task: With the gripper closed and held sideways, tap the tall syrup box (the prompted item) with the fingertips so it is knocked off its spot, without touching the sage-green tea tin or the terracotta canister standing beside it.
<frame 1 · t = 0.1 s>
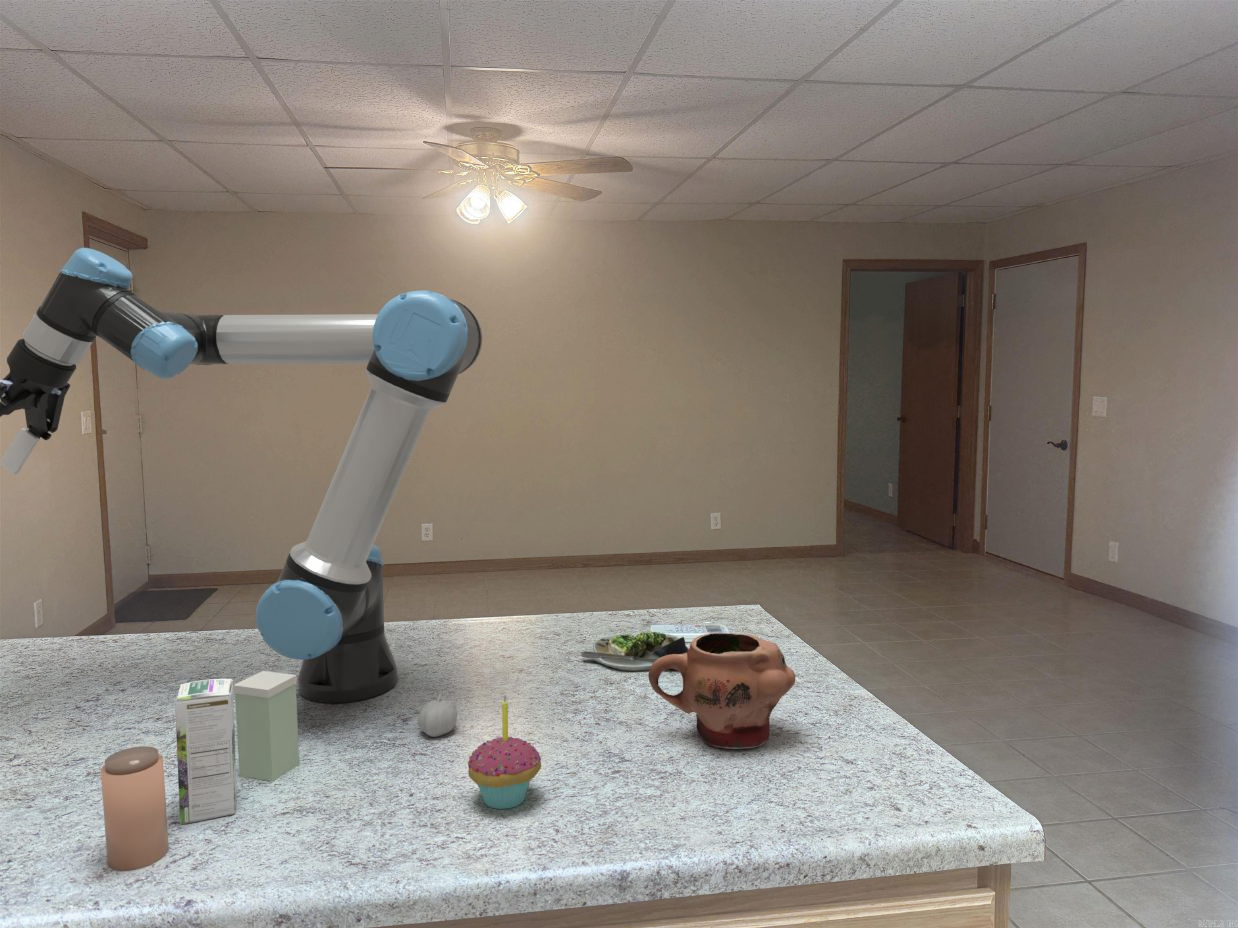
brown clay mug: (721, 739, 116), on the countertop
canister: (138, 854, 88), on the countertop
syrup box: (210, 809, 98), on the countertop
cupcake: (505, 800, 99), on the countertop
tea tin: (269, 769, 107), on the countertop
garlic: (438, 733, 118), on the countertop
salad plate: (644, 659, 149), on the countertop
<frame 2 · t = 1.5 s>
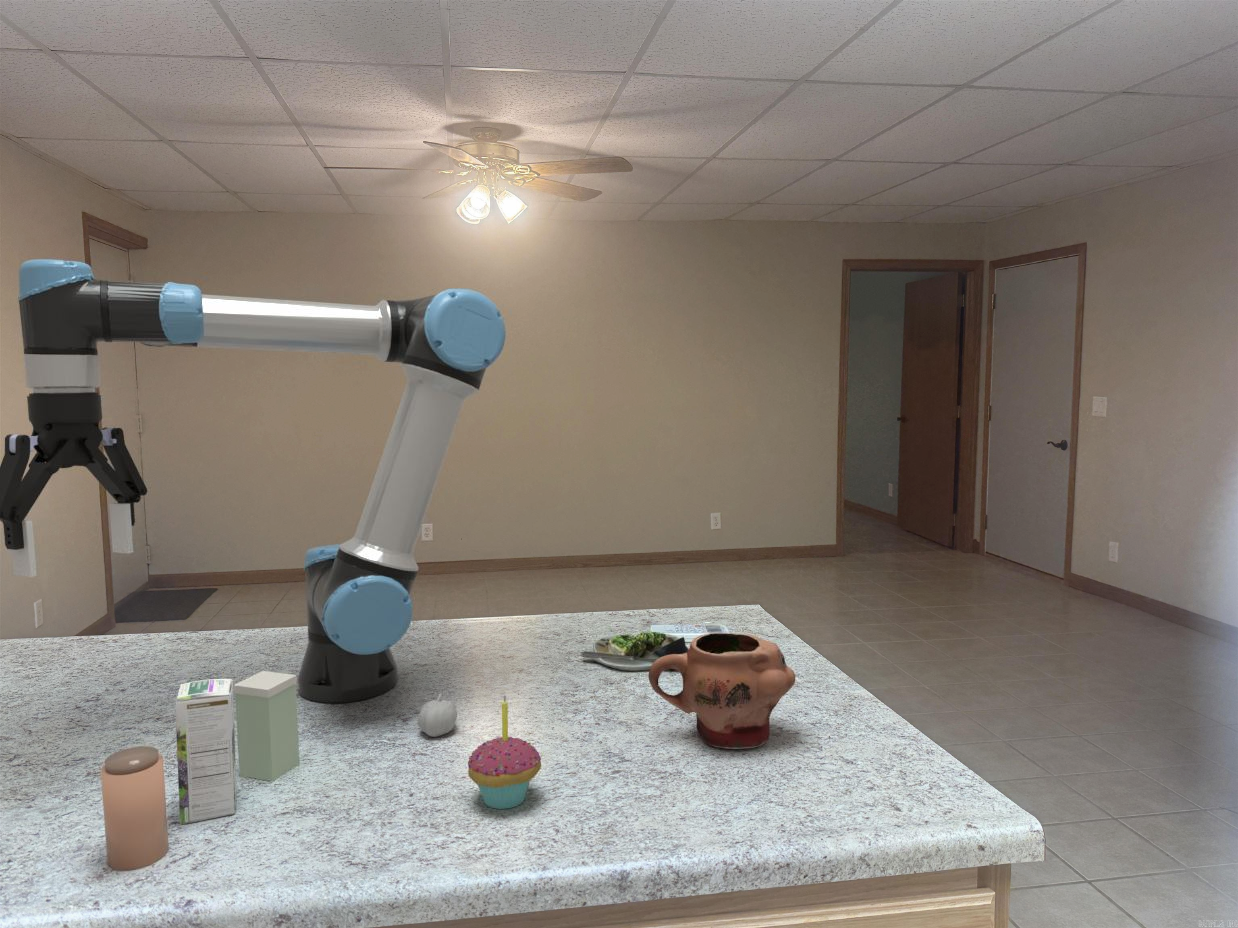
hand: (76, 563, 105), 27 cm above the countertop, tool pointing down, fingers open, 12 cm apart
nothing on the countertop moved.
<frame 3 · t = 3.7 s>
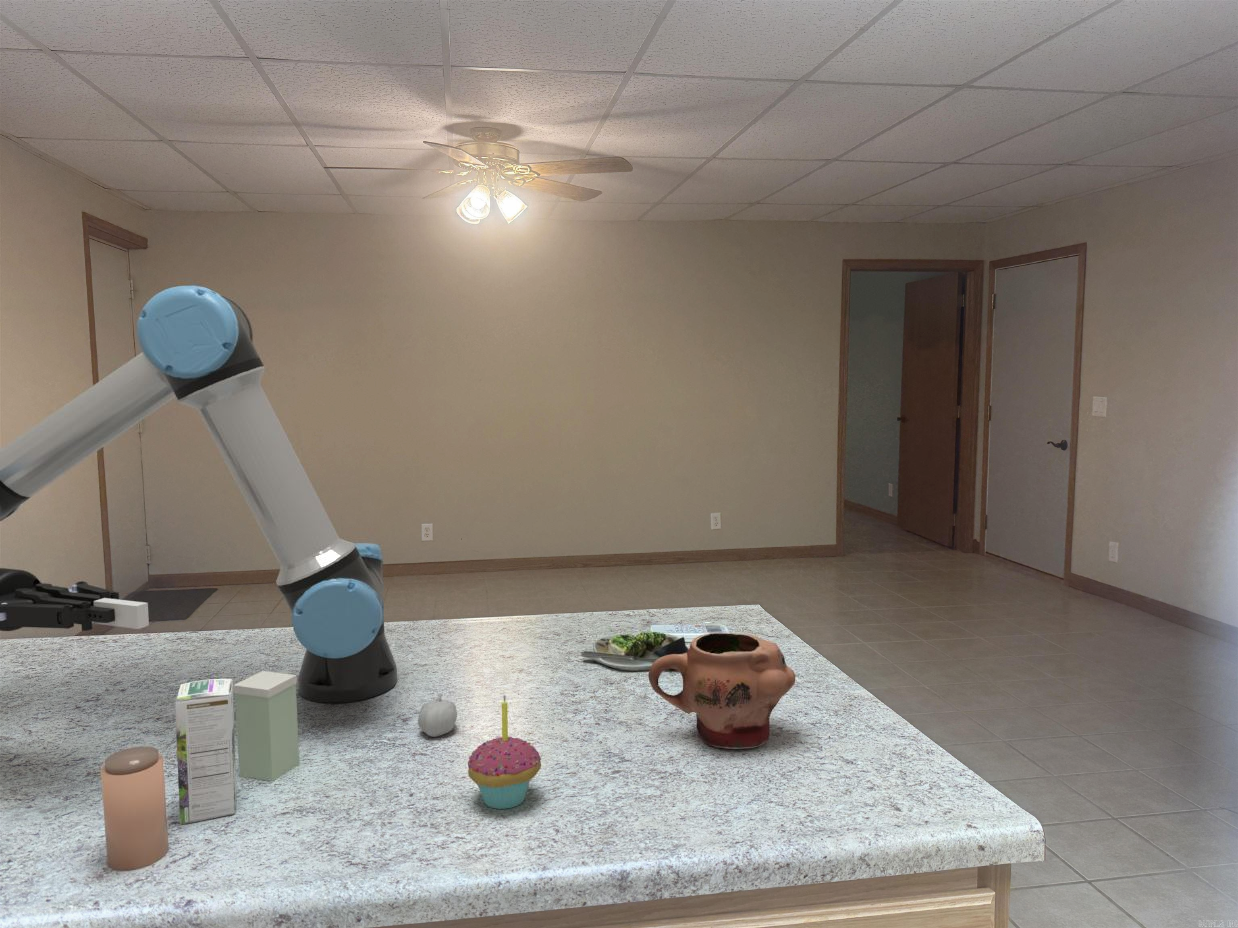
hand: (142, 615, 98), 22 cm above the countertop, tool horizontal, fingers closed
nothing on the countertop moved.
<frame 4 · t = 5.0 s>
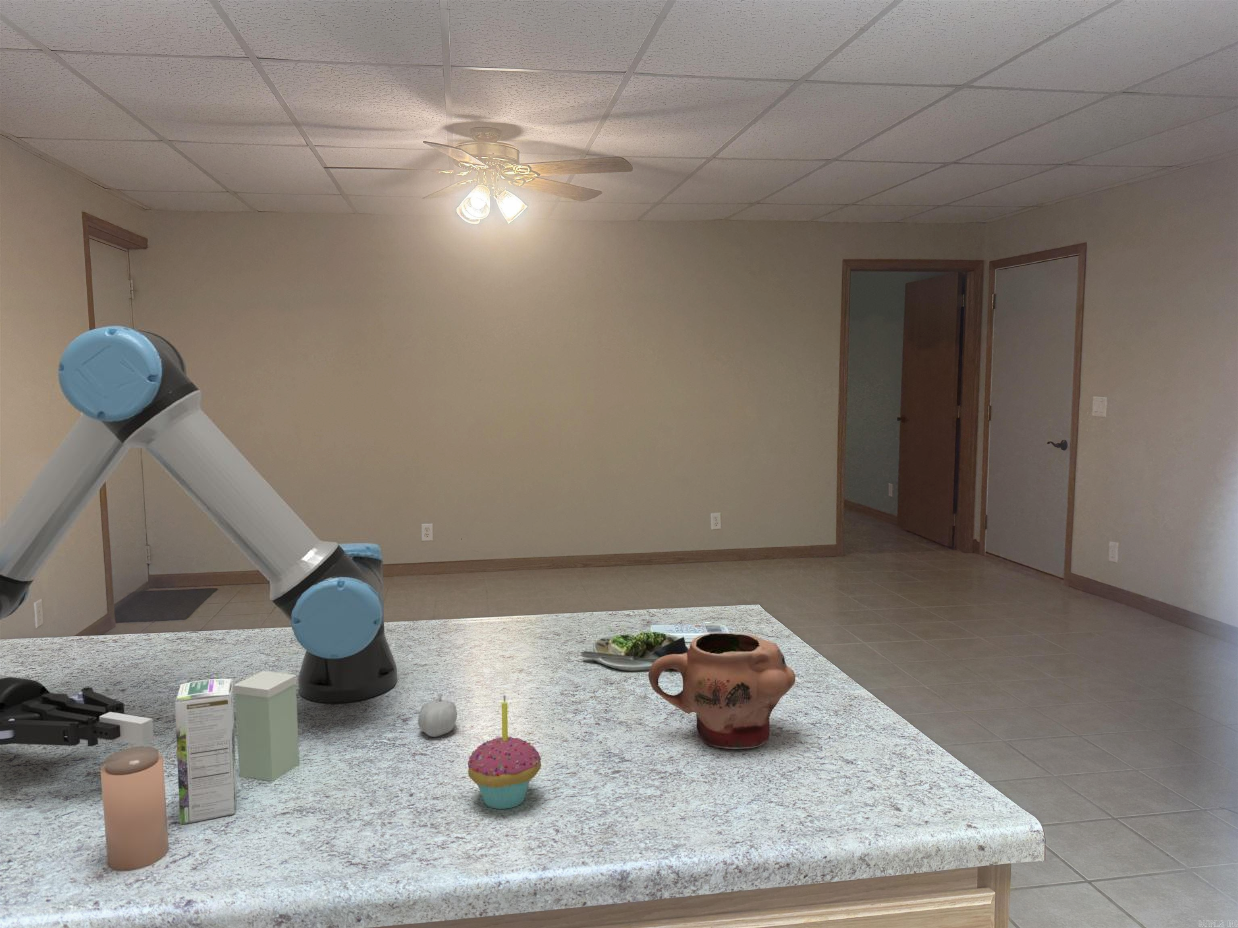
hand: (147, 732, 99), 8 cm above the countertop, tool horizontal, fingers closed
nothing on the countertop moved.
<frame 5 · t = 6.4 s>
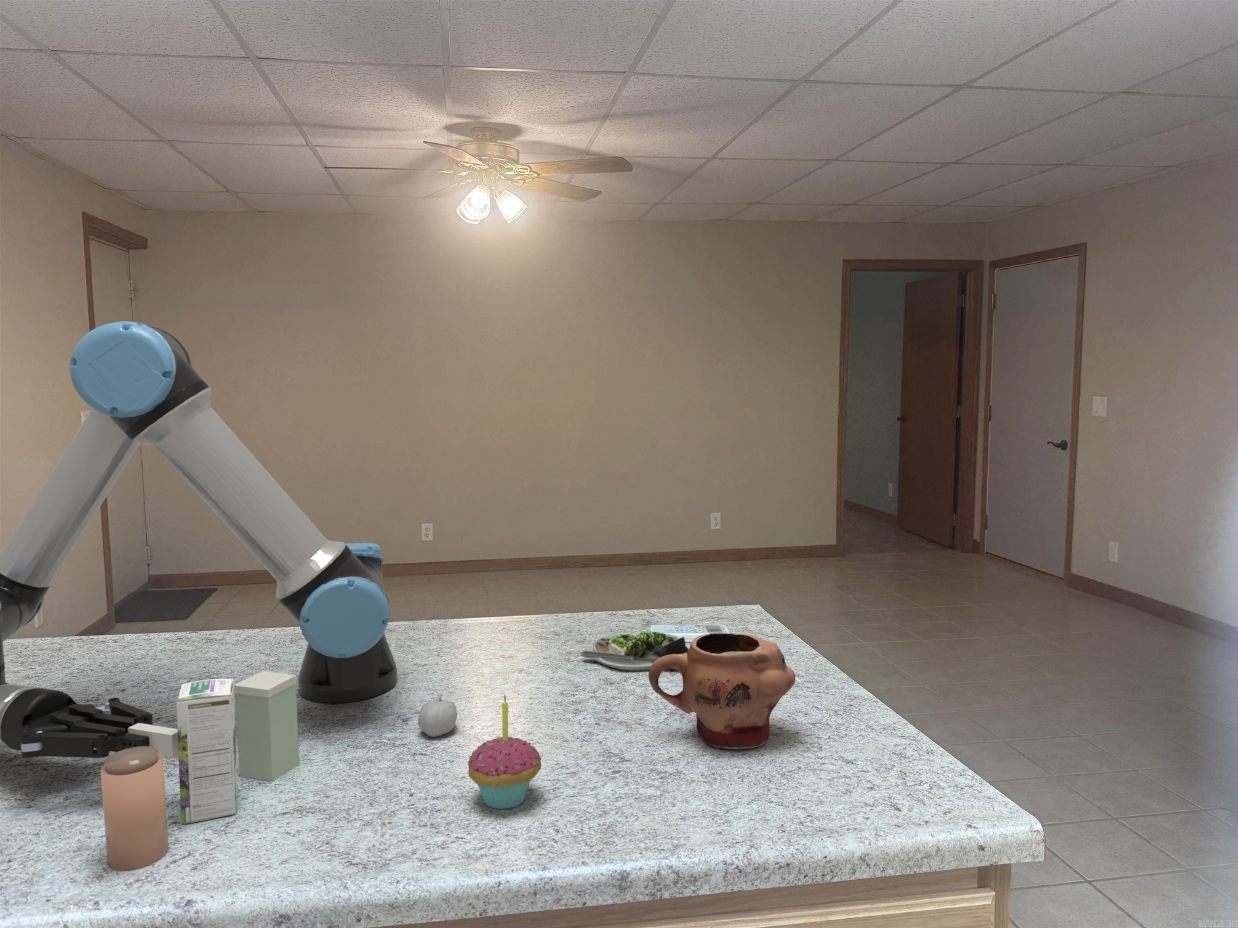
hand: (177, 743, 97), 7 cm above the countertop, tool horizontal, fingers closed
syrup box: (211, 809, 97), on the countertop, touching gripper
everything else where it was.
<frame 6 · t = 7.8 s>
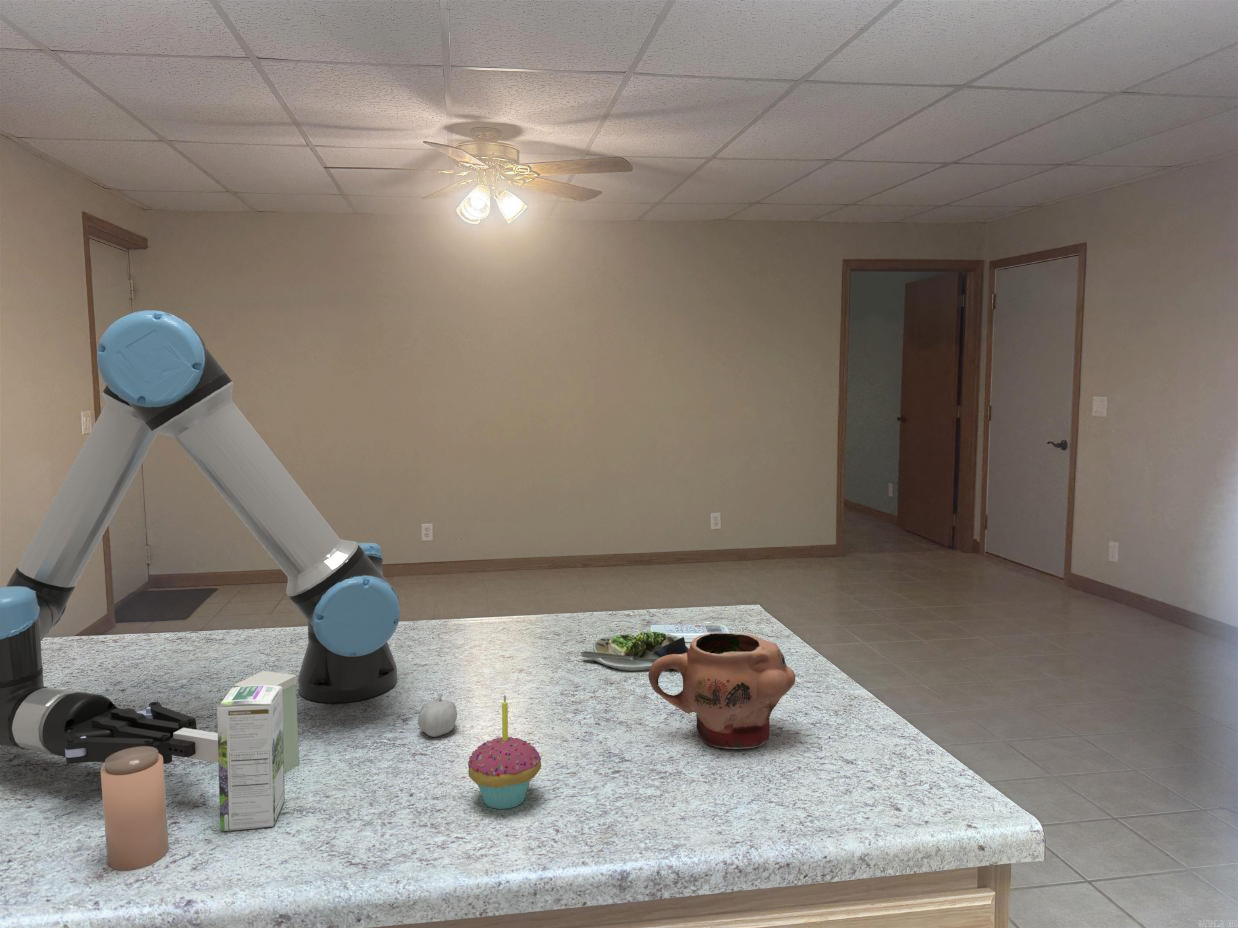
hand: (224, 748, 96), 8 cm above the countertop, tool horizontal, fingers closed
syrup box: (254, 818, 96), on the countertop, touching gripper
everything else where it was.
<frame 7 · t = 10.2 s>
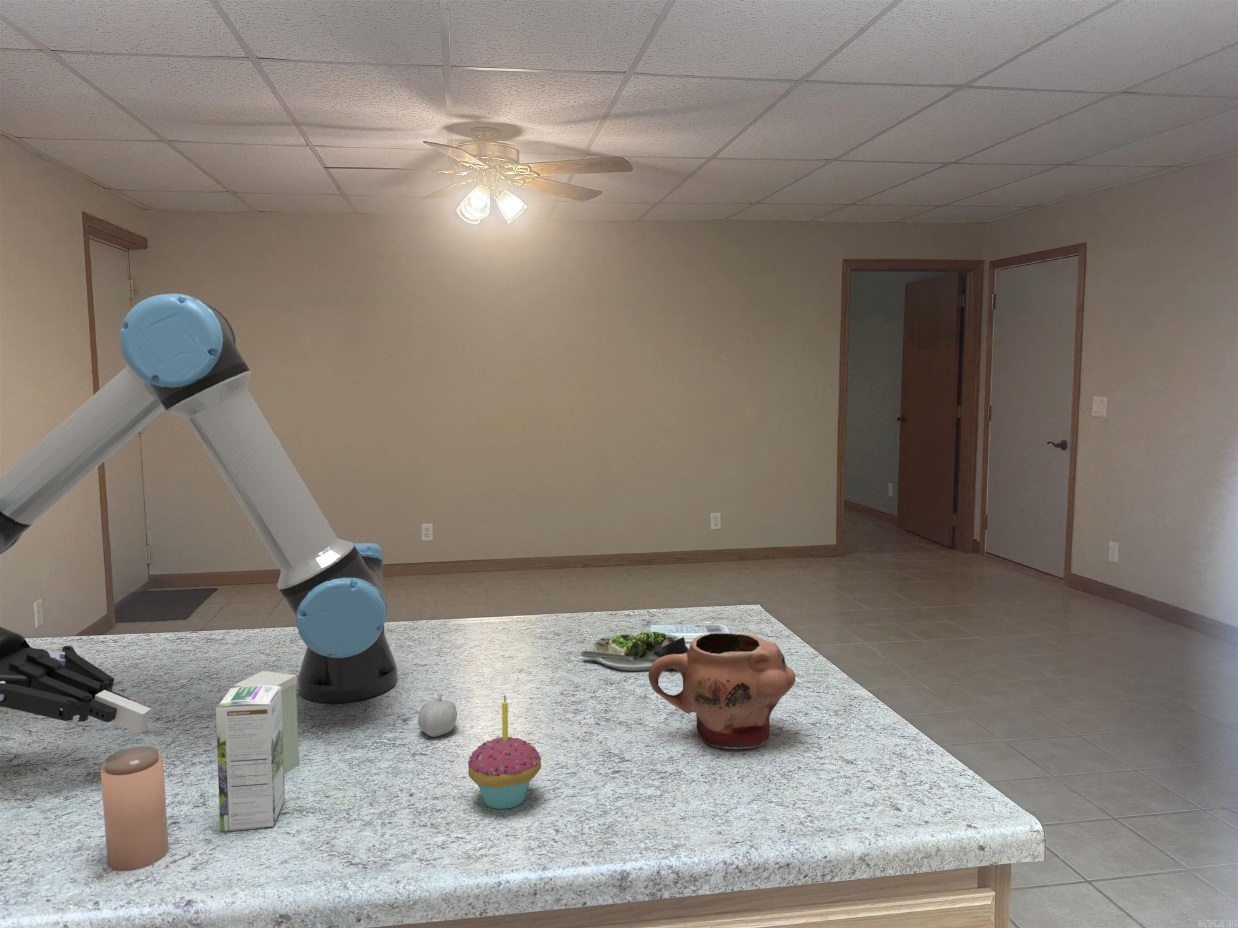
hand: (144, 720, 103), 8 cm above the countertop, tool tilted 70°, fingers closed
syrup box: (254, 818, 96), on the countertop
everything else where it was.
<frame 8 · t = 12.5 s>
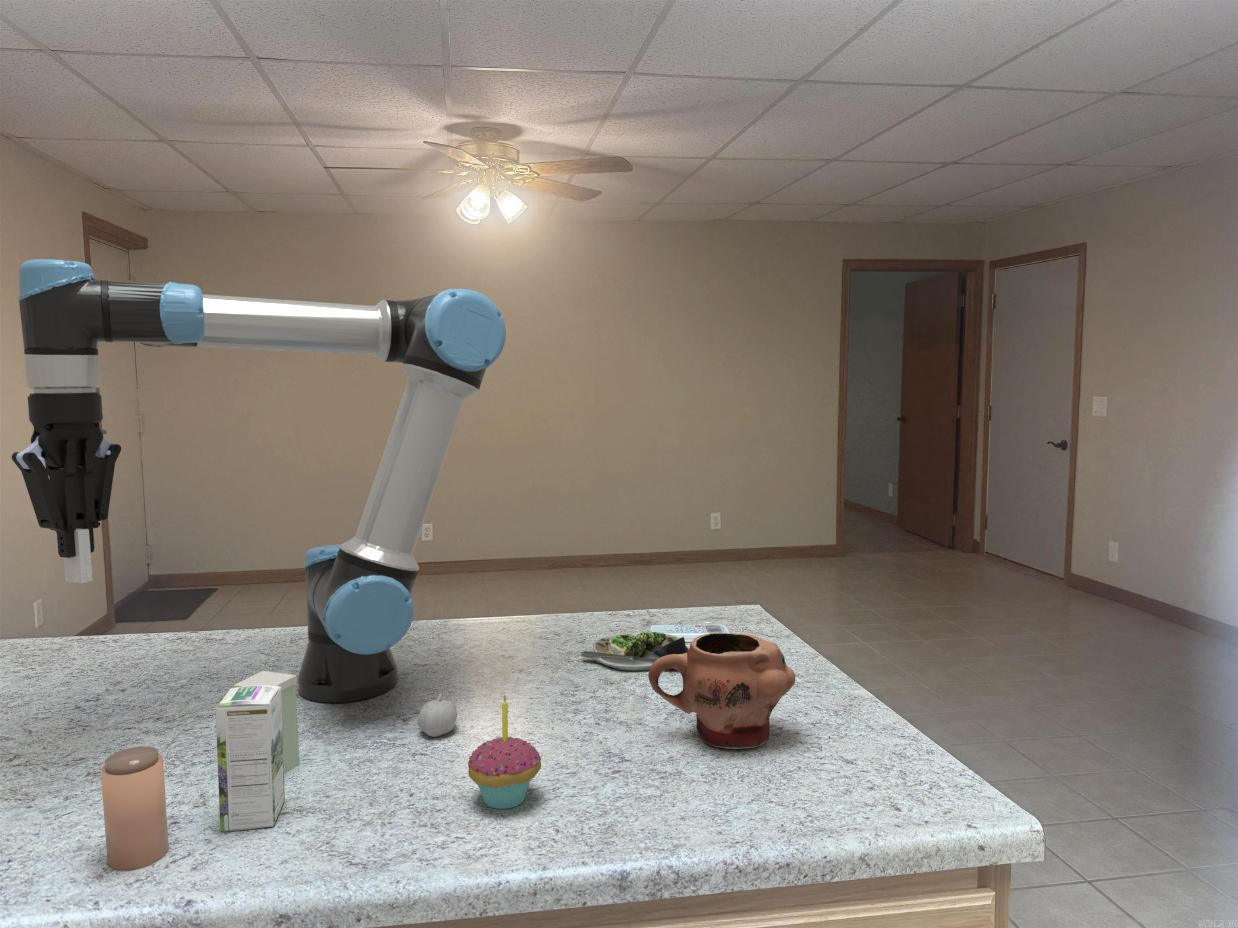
hand: (79, 580, 105), 24 cm above the countertop, tool pointing down, fingers closed
nothing on the countertop moved.
at the end: syrup box moved 6.3 cm from its start; tea tin moved 0.0 cm from its start; canister moved 0.0 cm from its start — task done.
